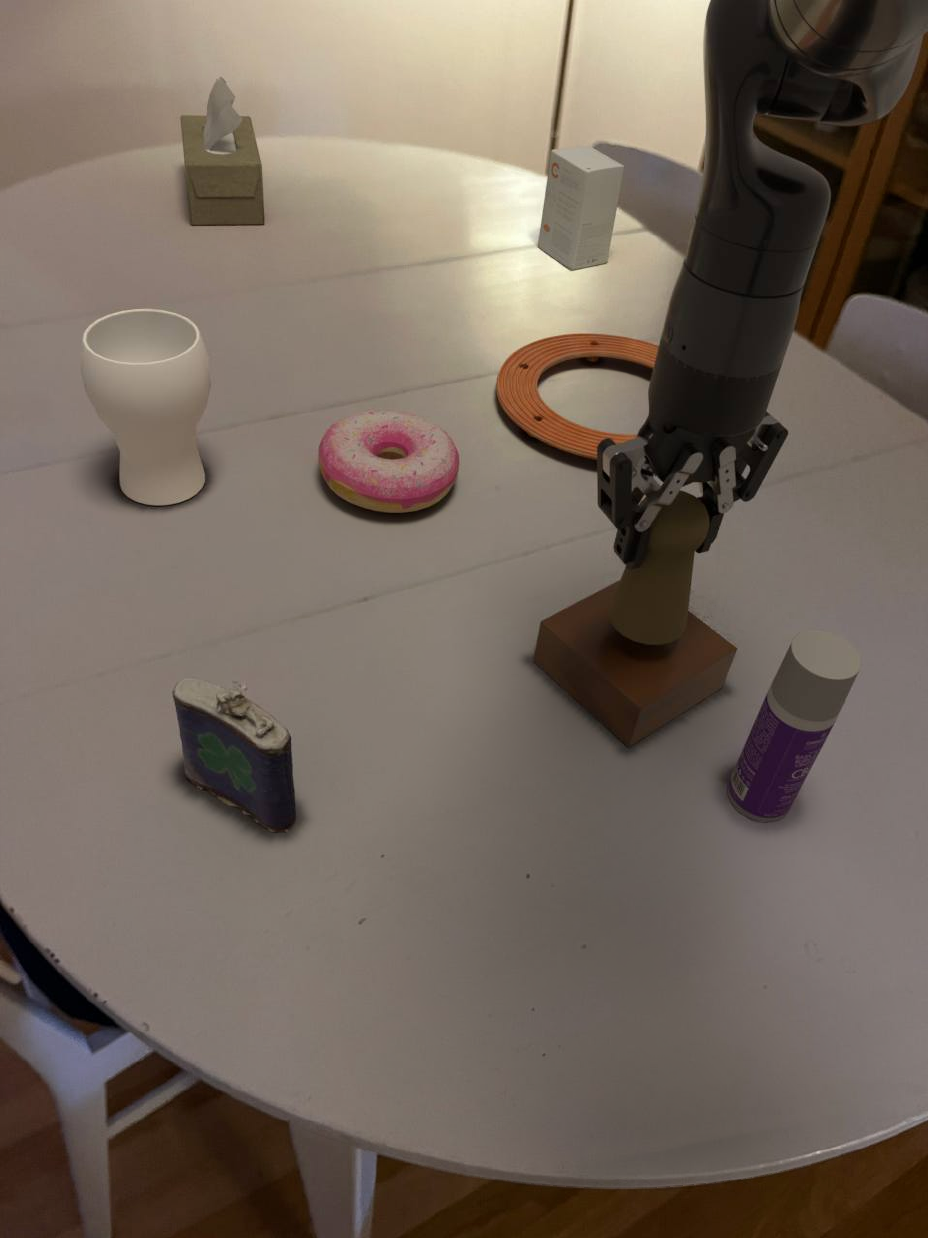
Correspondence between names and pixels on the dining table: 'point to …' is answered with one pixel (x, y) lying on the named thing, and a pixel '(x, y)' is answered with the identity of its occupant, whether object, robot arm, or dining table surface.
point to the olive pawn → (662, 575)
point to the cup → (150, 399)
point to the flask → (236, 751)
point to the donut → (388, 461)
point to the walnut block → (630, 667)
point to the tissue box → (222, 164)
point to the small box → (580, 206)
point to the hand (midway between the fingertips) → (662, 552)
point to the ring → (538, 356)
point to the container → (793, 724)
